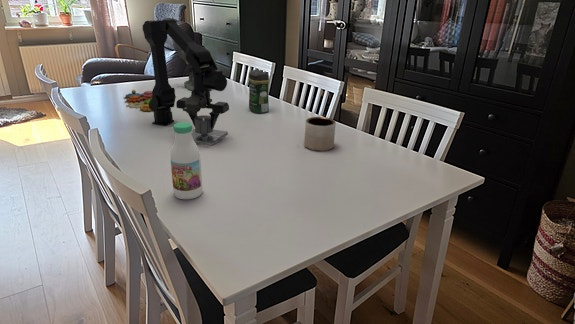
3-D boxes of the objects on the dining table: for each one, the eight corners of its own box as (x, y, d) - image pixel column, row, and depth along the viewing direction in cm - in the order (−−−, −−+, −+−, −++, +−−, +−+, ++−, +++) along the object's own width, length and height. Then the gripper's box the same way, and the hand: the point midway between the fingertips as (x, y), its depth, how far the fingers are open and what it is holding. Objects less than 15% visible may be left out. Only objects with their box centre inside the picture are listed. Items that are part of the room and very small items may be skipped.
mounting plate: (180, 140, 141) (179, 128, 139) (197, 129, 153) (197, 117, 151) (212, 145, 138) (211, 132, 136) (227, 133, 149) (227, 121, 147)
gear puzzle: (166, 111, 174) (165, 103, 172) (128, 115, 168) (127, 106, 166) (156, 94, 199) (155, 87, 198) (122, 97, 193) (121, 89, 191)
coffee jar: (246, 109, 180) (245, 69, 172) (261, 107, 184) (261, 67, 176) (256, 114, 172) (255, 73, 165) (271, 112, 176) (272, 71, 169)
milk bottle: (176, 186, 109) (170, 119, 101) (204, 186, 110) (199, 119, 102) (171, 200, 102) (163, 129, 94) (201, 200, 103) (196, 129, 95)
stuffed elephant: (174, 89, 208) (170, 37, 197) (197, 82, 226) (194, 34, 214) (204, 94, 201) (201, 40, 190) (225, 86, 219) (224, 36, 208)
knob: (195, 128, 146) (194, 115, 144) (212, 127, 148) (211, 114, 146) (195, 134, 140) (194, 120, 138) (213, 133, 142) (212, 119, 140)
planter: (336, 143, 144) (338, 118, 140) (329, 153, 135) (332, 128, 131) (308, 139, 147) (310, 115, 143) (300, 149, 138) (301, 123, 134)
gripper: (165, 88, 133) (169, 131, 139) (214, 94, 128) (216, 138, 134) (183, 81, 142) (186, 122, 149) (229, 87, 137) (230, 128, 144)
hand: (203, 127), depth 144 cm, fingers closed on knob, 7 cm apart
